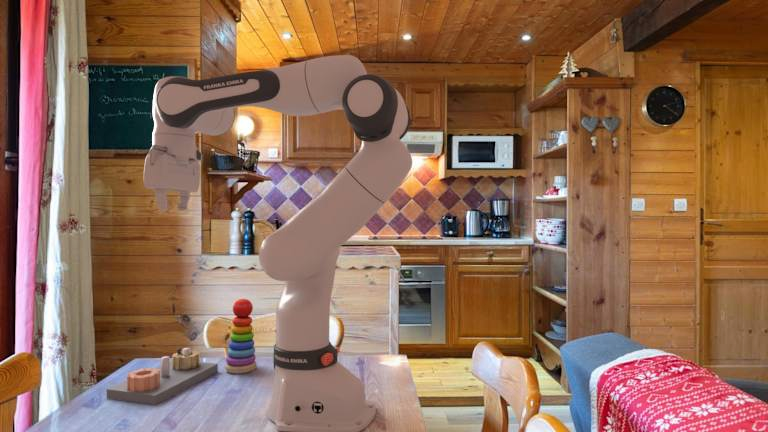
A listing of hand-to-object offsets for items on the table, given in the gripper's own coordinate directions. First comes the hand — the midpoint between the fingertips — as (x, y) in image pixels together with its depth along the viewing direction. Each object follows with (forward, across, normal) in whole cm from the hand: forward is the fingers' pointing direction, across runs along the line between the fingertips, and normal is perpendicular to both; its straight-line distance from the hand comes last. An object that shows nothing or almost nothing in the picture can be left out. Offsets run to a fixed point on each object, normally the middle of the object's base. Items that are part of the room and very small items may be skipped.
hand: (173, 210), depth 105 cm
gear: (+40, +13, +2) cm, 42 cm away
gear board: (+42, +6, +4) cm, 43 cm away
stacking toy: (+42, +17, -11) cm, 47 cm away
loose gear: (+40, 0, +6) cm, 40 cm away
